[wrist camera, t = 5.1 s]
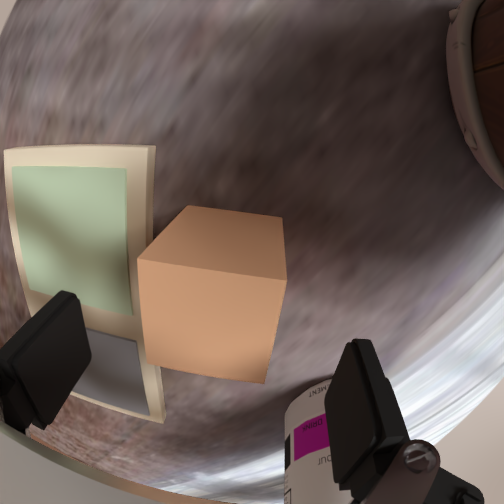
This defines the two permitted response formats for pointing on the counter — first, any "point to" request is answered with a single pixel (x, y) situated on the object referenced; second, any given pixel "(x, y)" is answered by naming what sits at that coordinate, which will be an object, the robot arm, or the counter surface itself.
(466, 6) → the flowerpot
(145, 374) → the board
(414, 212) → the counter surface
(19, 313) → the counter surface
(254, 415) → the counter surface
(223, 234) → the block
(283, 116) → the counter surface
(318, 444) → the supplement can
